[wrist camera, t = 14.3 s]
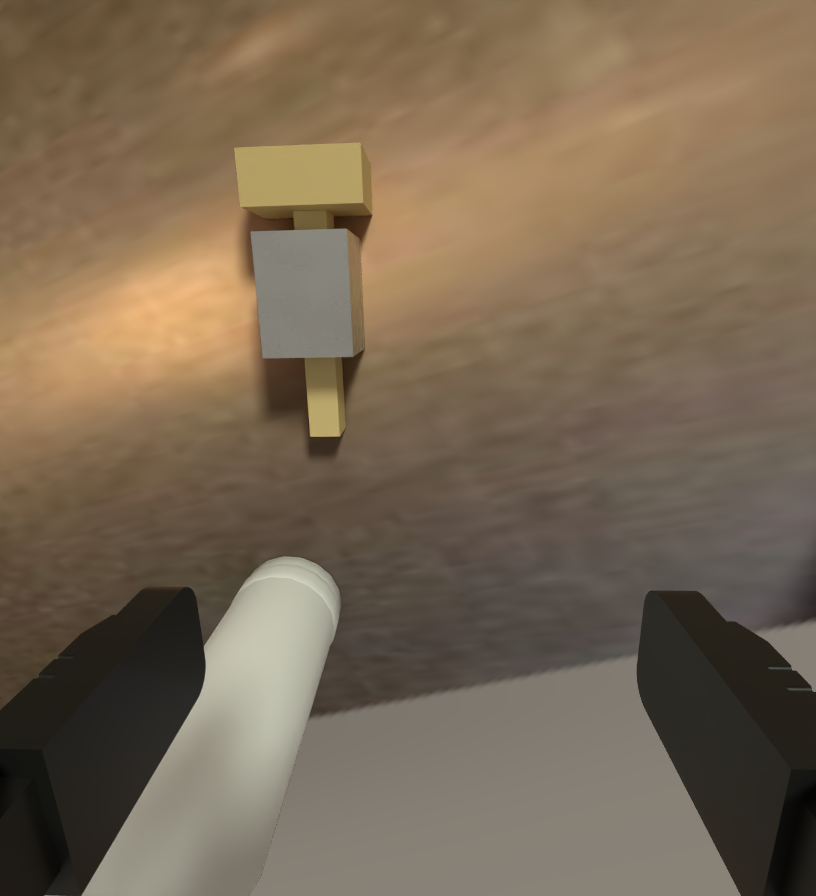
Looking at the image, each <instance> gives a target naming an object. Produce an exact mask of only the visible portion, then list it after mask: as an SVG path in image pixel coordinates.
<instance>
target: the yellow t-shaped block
mask: <svg viewBox="0 0 816 896" xmlns="http://www.w3.org/2000/svg"><path fill="white" fill-rule="evenodd" d="M234 150H235V159H236V169H237V179H238V189H239V199H240V207H241V208H244V209H246V210H248V211H250V212H252V213H254V214H256V215H258V216H260V217H262V218H264V219H274V218H294V230H316V229H334V217H335V216H366V215H372V193H371V167H370V162H369V159H368V157H367V155H366V153H365V151H364V149H363V147H362V144H361V143H340V144H315V145H290V146H265V147H240V148H234ZM304 360H305V373H306V386H307V399H308V412H309V425H310V437H340V435H341V434H342V433H343V431H344V430H345V428H346V422H345V404H344V387H343V369H342V357H319V358H304Z"/></svg>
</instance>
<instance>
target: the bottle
mask: <svg viewBox="0 0 816 896" xmlns="http://www.w3.org/2000/svg"><path fill="white" fill-rule="evenodd" d="M340 609H341V599H340V593H339V589H338V587H337V585H336V584H335V582H334V580H333V579H332V577H331V575H330V574H328V573H327V572H326V571H325V570H324V569H322V568H321V567H320V566H319V565H318V564H315V563H313V562H310V561H308V560H306V559H303V558H298V557H285V556H284V557H280V558H276V559H272V560H268V561H266V562H265V563H264V564H262V565H261V566H259V567H258V568H256V569H255V570H254V572H253V573H252V575H251V576H250V577H248V578H247V580H246V581H245V582H244V584H243V586H242V587H241V589H240V590H239V592H238V593H237V595H236V596H235V598H234V600H233V601H232V605H231V606H230V608H229V609H228V611H227V612H226V614H225V615H224V617H223V618H222V620H221V621H220V623H219V624H218V626H217V627H216V629H215V630H214V632H213V633H212V635H211V636H210V638H209V639H208V641H207V643H206V644H205V646H204V653H205V660H206V672H205V679H204V684H203V687H202V690H201V693H200V695H199V698H198V699H197V701H196V703H195V705H194V706H193V708H192V710H191V711H190V713H189V715H188V716H187V718H186V720H185V722H184V723H183V725H182V727H181V728H180V730H179V732H178V733H177V735H176V737H175V738H174V740H173V742H172V744H171V745H170V747H169V749H168V750H167V752H166V754H165V755H164V757H163V759H162V760H161V762H160V764H159V766H158V767H157V769H156V771H155V772H154V774H153V776H152V777H151V779H150V781H149V782H148V784H147V786H146V788H145V789H144V791H143V793H142V794H141V796H140V798H139V799H138V801H137V803H136V804H135V806H134V808H133V810H132V811H131V813H130V815H129V816H128V818H127V820H126V821H125V823H124V825H123V826H122V828H121V830H120V831H119V833H118V835H117V837H116V838H115V840H114V842H113V843H112V845H111V847H110V848H109V850H108V852H107V853H106V855H105V857H104V859H103V860H102V862H101V864H100V865H99V867H98V869H97V870H96V872H95V874H94V875H93V877H92V879H91V881H90V882H89V884H88V886H87V887H86V889H85V891H84V892H83V894H82V896H249V895H250V893H251V892H252V890H253V889H254V887H255V885H256V884H257V882H258V880H259V879H260V877H261V875H262V871H263V868H264V864H265V861H266V858H267V855H268V851H269V848H270V844H271V841H272V838H273V835H274V831H275V828H276V825H277V821H278V818H279V814H280V811H281V808H282V805H283V801H284V798H285V795H286V791H287V788H288V785H289V781H290V778H291V775H292V771H293V768H294V765H295V761H296V758H297V755H298V751H299V748H300V745H301V741H302V738H303V735H304V731H305V728H306V724H307V721H308V718H309V715H310V711H311V708H312V704H313V701H314V698H315V694H316V691H317V688H318V684H319V681H320V678H321V674H322V671H323V668H324V664H325V661H326V658H327V654H328V651H329V648H330V645H331V643H332V642H333V639H334V636H335V632H336V628H337V624H338V619H339V615H340V614H339V613H340Z"/></svg>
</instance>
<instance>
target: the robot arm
mask: <svg viewBox="0 0 816 896" xmlns="http://www.w3.org/2000/svg"><path fill="white" fill-rule="evenodd" d="M205 672H206V660H205V653H204V646H203V640H202V633H201V627H200V620H199V613H198V607H197V600H196V596H195V593H194V592H193V590H192V589H191V588H189V587H146V588H144V589H142V590H141V591H140V592H139V593H138V594H137V595H136V596H135V597H134V598H133V599H132V600H131V601H130V602H129V603H128V604H127V605H126V606H125V607H124V608H123V609H122V610H121V611H120V612H119V613H118V614H117V615H112V616H110V617H108V618H107V619H105V620H103V621H102V622H100V623H98V624H97V625H95V626H93V627H91V628H90V629H88V630H86V631H85V632H83V633H81V634H80V635H79V636H78V637H77V638H76V639H75V640H74V641H73V642H72V643H71V644H70V645H69V646H68V647H67V648H66V649H65V650H64V651H62V652H61V653H60V654H59V658H58V659H54V660H53V661H52V662H51V663H50V664H49V665H48V666H47V667H46V668H45V669H43V670H42V671H41V672H40V673H39V677H38V679H33V680H32V681H31V682H30V683H29V684H28V685H27V686H26V687H24V688H23V689H22V690H21V691H20V692H19V693H18V694H17V695H16V696H15V697H14V698H13V699H12V700H11V701H10V702H9V703H8V704H7V705H5V706H4V707H3V708H2V709H1V710H0V896H44V895H60V896H82V894H83V892H84V891H85V889H86V887H87V886H88V884H89V882H90V881H91V879H92V877H93V875H94V874H95V872H96V870H97V869H98V867H99V865H100V864H101V862H102V860H103V859H104V857H105V855H106V853H107V852H108V850H109V848H110V847H111V845H112V843H113V842H114V840H115V838H116V837H117V835H118V833H119V831H120V830H121V828H122V826H123V825H124V823H125V821H126V820H127V818H128V816H129V815H130V813H131V811H132V810H133V808H134V806H135V804H136V803H137V801H138V799H139V798H140V796H141V794H142V793H143V791H144V789H145V788H146V786H147V784H148V782H149V781H150V779H151V777H152V776H153V774H154V772H155V771H156V769H157V767H158V766H159V764H160V762H161V760H162V759H163V757H164V755H165V754H166V752H167V750H168V749H169V747H170V745H171V744H172V742H173V740H174V738H175V737H176V735H177V733H178V732H179V730H180V728H181V727H182V725H183V723H184V722H185V720H186V718H187V716H188V715H189V713H190V711H191V710H192V708H193V706H194V705H195V703H196V701H197V699H198V698H199V695H200V693H201V690H202V687H203V684H204V679H205ZM637 683H638V689H639V693H640V697H641V700H642V703H643V706H644V708H645V710H646V712H647V714H648V716H649V718H650V720H651V721H652V724H653V726H654V727H655V729H656V731H657V733H658V735H659V737H660V739H661V741H662V743H663V745H664V747H665V748H666V751H667V752H668V754H669V757H670V759H671V760H672V762H673V764H674V766H675V768H676V770H677V772H678V774H679V776H680V778H681V780H682V782H683V784H684V786H685V787H686V790H687V791H688V793H689V795H690V797H691V799H692V801H693V803H694V805H695V807H696V809H697V811H698V813H699V815H700V817H701V819H702V820H703V823H704V825H705V827H706V828H707V830H708V832H709V834H710V836H711V838H712V840H713V842H714V844H715V846H716V848H717V850H718V852H719V854H720V856H721V858H722V859H723V861H724V863H725V865H726V867H727V869H728V871H729V873H730V875H731V877H732V879H733V881H734V883H735V885H736V887H737V889H738V891H739V892H740V894H741V896H816V692H813V691H812V688H811V686H810V685H809V684H808V683H807V681H806V680H805V679H803V677H802V676H801V675H800V674H799V673H798V672H797V671H792V669H791V665H790V664H789V663H788V662H787V661H786V660H785V659H784V658H783V657H782V656H781V655H780V654H779V653H778V652H777V651H776V650H775V649H774V648H773V647H772V646H771V644H770V643H768V642H767V641H766V640H764V639H763V638H761V637H759V636H758V635H756V634H755V633H753V632H751V631H750V630H748V629H746V628H745V627H743V626H742V625H740V624H738V623H737V622H726V620H725V619H724V618H723V617H722V616H721V615H720V614H719V613H718V612H717V611H716V609H715V608H714V607H713V606H712V605H711V604H710V603H709V602H708V601H707V600H706V598H705V597H704V596H703V595H702V594H701V593H699V592H697V591H650V592H648V594H647V595H646V598H645V601H644V608H643V617H642V626H641V635H640V643H639V652H638V661H637Z"/></svg>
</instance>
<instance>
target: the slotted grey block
mask: <svg viewBox="0 0 816 896" xmlns="http://www.w3.org/2000/svg"><path fill="white" fill-rule="evenodd" d="M250 232H251V243H252V253H253V263H254V274H255V284H256V294H257V305H258V315H259V326H260V336H261V346H262V357H263V358H319V357H354V356H355V355H357V354H358V353H359V352H361V351H362V350H364V349H365V336H364V313H363V290H362V267H361V244H360V239H359V238H358V237H357V236H355V235H354V234H353V233H352V232H350V231H349V230H348V229H316V230H282V231H250Z"/></svg>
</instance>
